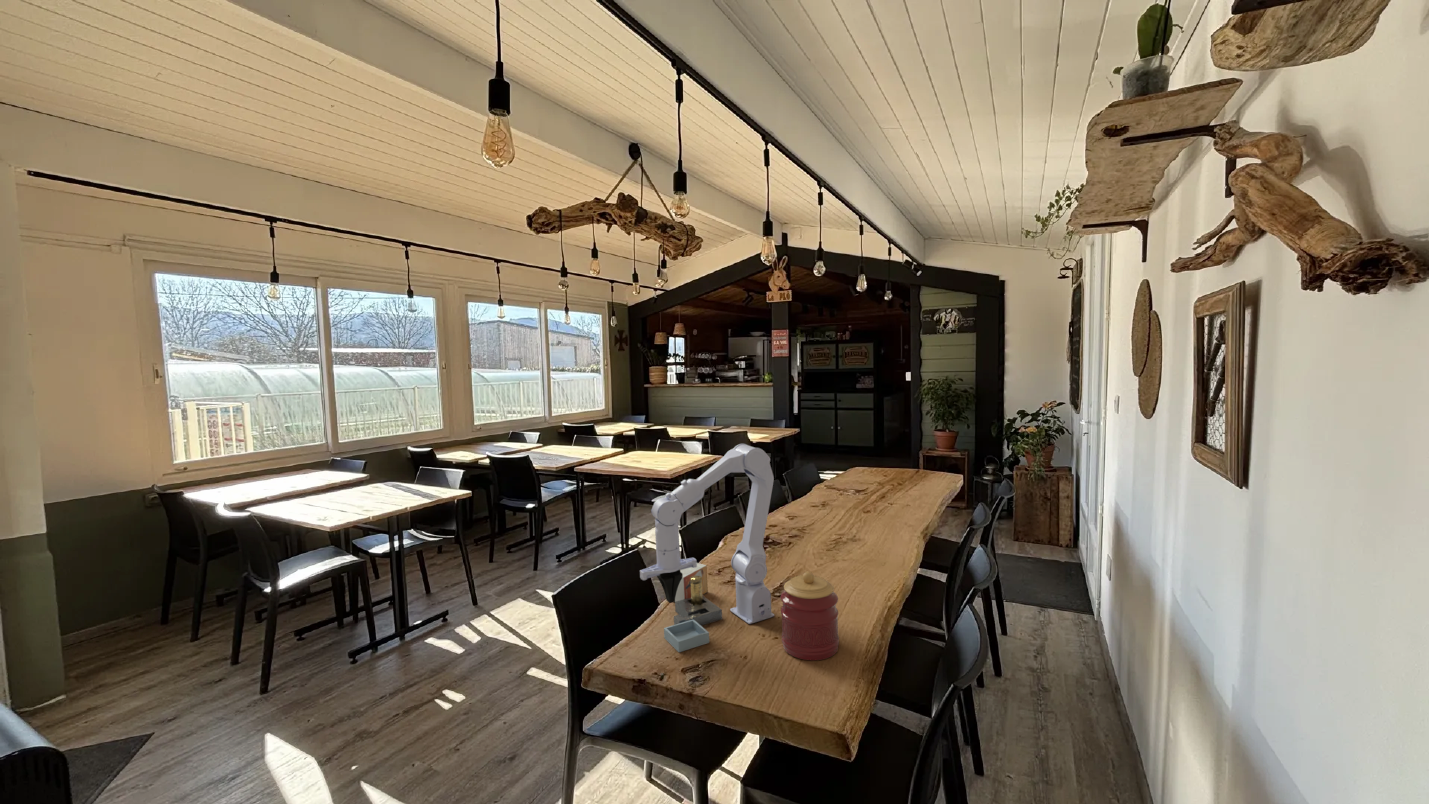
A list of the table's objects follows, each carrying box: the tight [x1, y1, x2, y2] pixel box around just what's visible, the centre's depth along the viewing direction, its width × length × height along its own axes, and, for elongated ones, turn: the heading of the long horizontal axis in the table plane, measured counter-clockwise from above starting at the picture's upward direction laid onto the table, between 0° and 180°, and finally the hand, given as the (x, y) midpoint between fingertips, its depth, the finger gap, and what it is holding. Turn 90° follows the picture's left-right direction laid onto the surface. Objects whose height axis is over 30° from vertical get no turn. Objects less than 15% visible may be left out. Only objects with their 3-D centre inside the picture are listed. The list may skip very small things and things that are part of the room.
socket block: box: [674, 594, 723, 627], centre depth 146 cm, size 11×8×3 cm
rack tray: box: [663, 619, 710, 653], centre depth 133 cm, size 8×8×2 cm
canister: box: [780, 571, 840, 661], centre depth 127 cm, size 13×13×18 cm
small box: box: [674, 562, 709, 603], centre depth 158 cm, size 8×6×10 cm
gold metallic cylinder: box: [690, 576, 703, 606], centre depth 148 cm, size 3×3×9 cm
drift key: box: [673, 613, 700, 625], centre depth 141 cm, size 3×7×3 cm, turn 120°
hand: (670, 601), depth 138 cm, fingers closed
